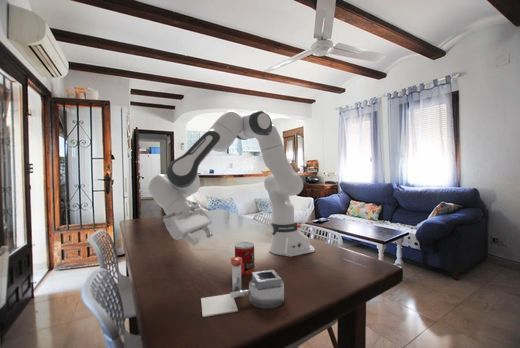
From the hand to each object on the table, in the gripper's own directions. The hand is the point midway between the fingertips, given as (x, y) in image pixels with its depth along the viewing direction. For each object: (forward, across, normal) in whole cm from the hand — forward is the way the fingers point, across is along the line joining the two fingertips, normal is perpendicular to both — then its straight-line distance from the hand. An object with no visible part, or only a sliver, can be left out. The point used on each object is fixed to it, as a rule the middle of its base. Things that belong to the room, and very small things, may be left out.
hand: (204, 240), depth 89 cm
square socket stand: (+26, -4, -4) cm, 27 cm away
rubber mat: (+19, -10, +4) cm, 22 cm away
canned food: (+18, +16, +5) cm, 24 cm away
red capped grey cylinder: (+20, 0, +3) cm, 20 cm away
